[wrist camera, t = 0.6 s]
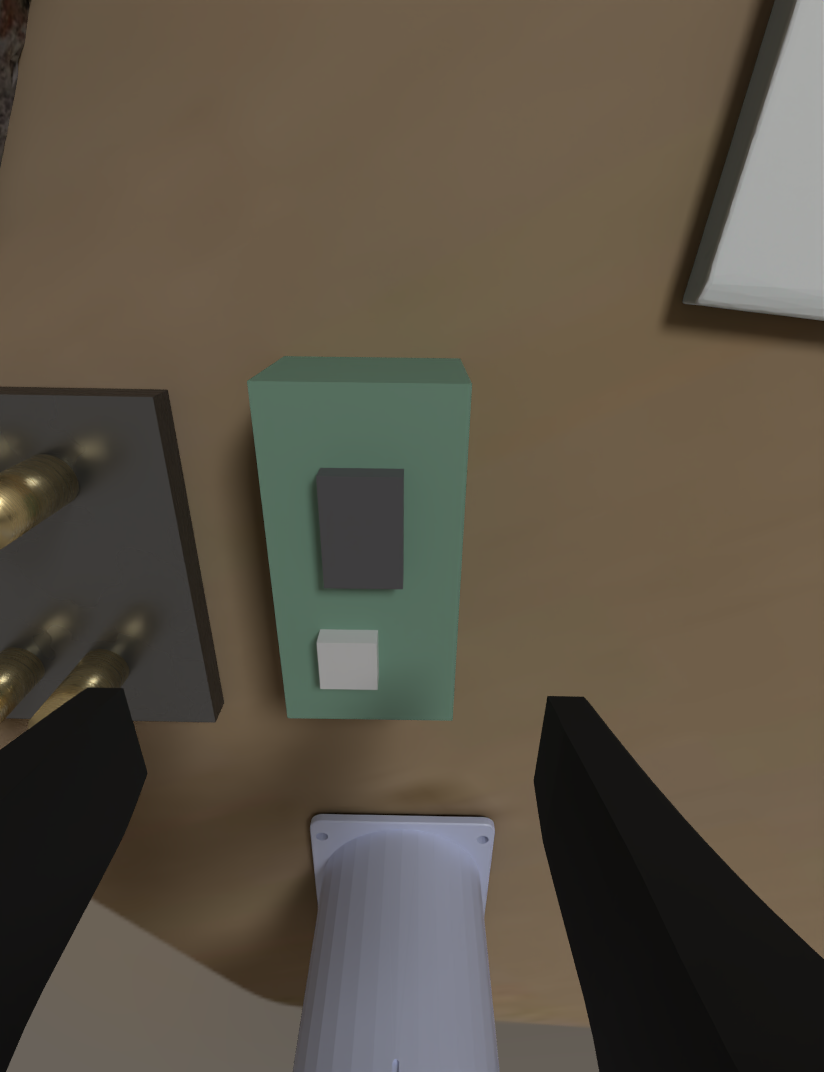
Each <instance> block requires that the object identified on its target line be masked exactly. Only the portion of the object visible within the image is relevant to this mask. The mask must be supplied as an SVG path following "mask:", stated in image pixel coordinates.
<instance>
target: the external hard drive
mask: <svg viewBox="0 0 824 1072" xmlns="http://www.w3.org/2000/svg"><path fill="white" fill-rule="evenodd" d="M683 303H684V304H691V305H701V306H709V307H716V308H724V309H732V310H739V311H746V312H756V313H764V314H773V315H781V316H789V317H797V318H805V319H813V320H821V321H824V0H775V2H774V5H773V8H772V11H771V15H770V18H769V21H768V24H767V28H766V31H765V34H764V37H763V41H762V44H761V47H760V50H759V54H758V57H757V60H756V63H755V67H754V70H753V73H752V77H751V80H750V83H749V86H748V90H747V93H746V96H745V99H744V103H743V106H742V109H741V112H740V115H739V119H738V122H737V125H736V129H735V132H734V135H733V138H732V142H731V145H730V148H729V152H728V155H727V158H726V161H725V165H724V168H723V171H722V174H721V178H720V181H719V184H718V187H717V191H716V194H715V197H714V200H713V204H712V207H711V210H710V213H709V217H708V220H707V223H706V226H705V229H704V233H703V236H702V239H701V242H700V246H699V249H698V252H697V255H696V258H695V262H694V265H693V268H692V271H691V275H690V278H689V281H688V284H687V287H686V290H685V294H684V297H683Z"/></svg>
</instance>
